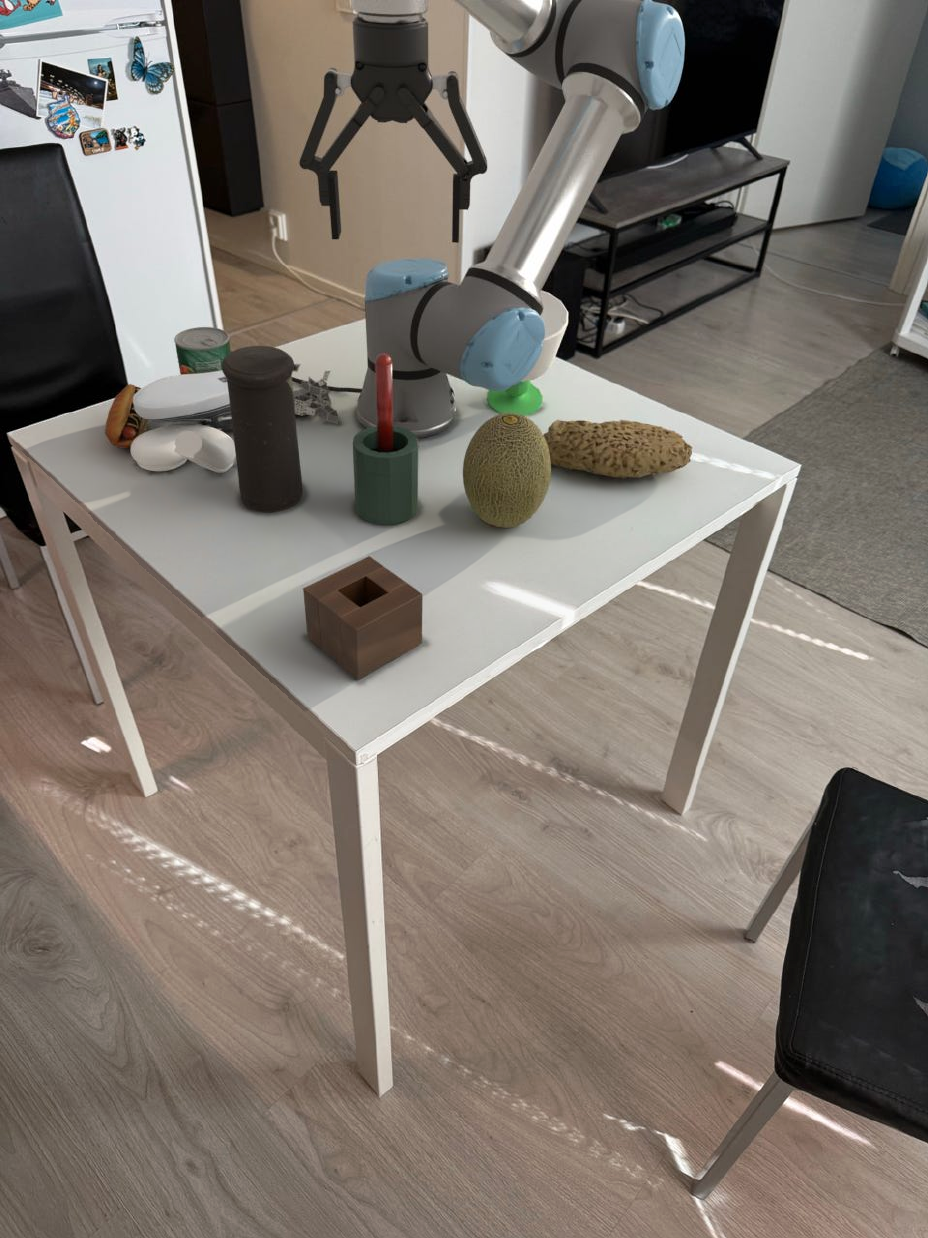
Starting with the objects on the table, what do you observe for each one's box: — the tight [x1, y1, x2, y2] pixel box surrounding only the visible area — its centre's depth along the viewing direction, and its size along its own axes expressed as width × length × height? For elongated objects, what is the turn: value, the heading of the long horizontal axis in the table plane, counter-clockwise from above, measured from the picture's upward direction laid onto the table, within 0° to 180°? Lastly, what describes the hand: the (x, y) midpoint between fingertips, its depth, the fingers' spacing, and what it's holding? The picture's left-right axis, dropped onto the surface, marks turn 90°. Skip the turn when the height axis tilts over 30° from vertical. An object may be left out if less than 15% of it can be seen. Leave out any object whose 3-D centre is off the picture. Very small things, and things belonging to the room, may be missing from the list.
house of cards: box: [292, 363, 340, 425], centre depth 137 cm, size 9×9×8 cm
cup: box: [486, 290, 569, 416], centre depth 139 cm, size 14×14×16 cm
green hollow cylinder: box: [352, 426, 419, 526], centre depth 118 cm, size 8×8×10 cm
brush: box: [375, 353, 393, 453], centre depth 114 cm, size 3×3×21 cm
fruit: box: [462, 413, 552, 529], centre depth 115 cm, size 11×11×15 cm
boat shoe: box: [133, 370, 233, 432], centre depth 132 cm, size 24×9×8 cm, turn 136°
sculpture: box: [130, 423, 236, 474], centre depth 125 cm, size 12×15×8 cm
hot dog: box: [104, 383, 150, 449], centre depth 131 cm, size 5×13×5 cm
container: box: [222, 345, 303, 513], centre depth 115 cm, size 9×9×20 cm
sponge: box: [543, 419, 693, 479], centre depth 129 cm, size 13×8×20 cm
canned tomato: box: [173, 326, 232, 375], centre depth 137 cm, size 8×8×11 cm
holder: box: [302, 555, 424, 681], centre depth 98 cm, size 9×9×7 cm
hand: (396, 237), depth 103 cm, fingers open, 13 cm apart
